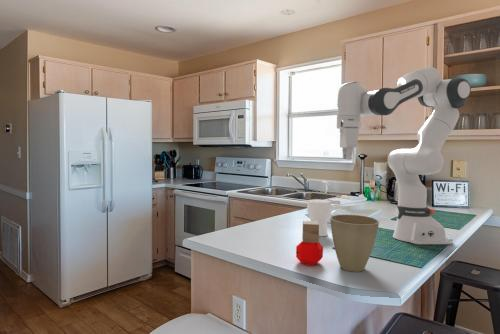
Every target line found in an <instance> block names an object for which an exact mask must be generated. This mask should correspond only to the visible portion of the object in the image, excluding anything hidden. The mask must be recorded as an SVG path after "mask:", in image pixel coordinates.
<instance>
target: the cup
mask: <svg viewBox="0 0 500 334" xmlns="http://www.w3.org/2000/svg"><path fill="white" fill-rule="evenodd" d="M306 206H307V207H306V208H307V209H306V210H307V215H308V217H309V219H310V220H309V221H318V223H319V237H327V236H329V235H328V234H329V233H328V221H329V220H330V217H331V216H332V213H333V212H332V211H333V210H332V209H333V206H332V202H331V200H327V199H318V198H317V199H316V198H314V199H310V200H308V201H307V205H306Z"/></svg>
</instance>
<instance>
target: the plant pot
mask: <svg viewBox="0 0 500 334" xmlns="http://www.w3.org/2000/svg"><path fill="white" fill-rule="evenodd" d="M329 221H330V228H331V229H330V230H331V235H332V236H331V237H332V241H333V245H334V246H333V247H334V251H335V254H336V258H337V260H338V264H339V266H340V268H341V269H342V270H344V271H348V272H352V273H353V272H357V273H359V272H363V271H364V270H365V268H366V265H367V264H368V261H369V260H370V258H371V257H370V256H371V254H372V251H373V249H374V245H375V242H376V239H377V233H378V229H379V225H380V220H378V219H376V218H374V217H371V216H366V215H360V214H335V215H330V218H329Z"/></svg>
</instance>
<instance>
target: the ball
mask: <svg viewBox="0 0 500 334" xmlns="http://www.w3.org/2000/svg"><path fill="white" fill-rule="evenodd" d="M295 251H296V252H295V254H296V255H295V257H296V258H297V260H298V261H299V262H300V264H301V265H307V266H315V265H316V264H318V262H320V261H321V260H322V259H323V258H324V246H323V245H322V244H321V243H320V242H319V243H309V242H303V240H302V241H301V242H300V243H298V244H297V245H296V247H295Z"/></svg>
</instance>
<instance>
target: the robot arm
mask: <svg viewBox="0 0 500 334" xmlns="http://www.w3.org/2000/svg"><path fill="white" fill-rule="evenodd" d="M471 88H472V87H471V85H470V83H469V81H468V79H465V78H462V77H454V78H448V79H442V73H441V72H440V70H439V69H438V68H435V67H433V66H428V67H422V68H418V69H415V70H413V71H410V72H408V73H406V74H404V75H402V76H401V77H399V79H398V81H397V83H396V87H394V88H391V87H382V88H379V89H377V90H372V91H369V90H367V89H365V87H363V86H362V84H361V83H360V82H358V81H350V82H345V83H343V84H341V85H340V87H339V89H338V94H337V104H336V105H337V109H338V110H337V114H336V116H337V117H336V129H339V133H340V134H339V147H340V148H342V159H343V160H348V161H349V160H350V161H351V160H353V153H354V152H353V151H354V148H357V146H358V140H359V134H360V133H359V131H360V130H359V129H360V128H361V126H362V125H361V123H362V122H361V117H363V118H367V117H368V118H369V117H376V116H377V117H378V116H388V115H389V116H390V115H391V114H393V113H394V111H395V110H396V109H397V108H398V107H399V106H400V105H402V104H403V103H404V102H408V101H410V100H415V99H417V100H418V103H419V104H420V105H421V106H422V107H426V108H432V107H433V111H432V113H431V114H430V115H429V117H428V118H427V119H426V120H425V122H424V124H423V125H422V126H421V127H420V129H419V130H418V132H417V133H416V138H417V141H418V144H417V146H415V147H411V148H410V147H406V148H405V147H403V148H402V147H401V148H398V149H393V150H392V151H391V152H390V153H389V154H388V156H387V165H388V167H389V169H391V171H392V172H393V174H394V176H395V179H396V182H397V189H398V191H397V194H398V196H397V198H398V199H397V200H398V201H397V205H396V212H395V213H396V214H395V216H396V222H395V226H394V231H393V235H392V237H393V239H396V240H398V241H402V242H407V243H411V244H414V245H452V240H451V238H450V237H447V236H446V234H447V233H446V230H445V227H444V226H443V225H442V224H441V223H440V222H438V221H437V220H436V219H435V218H433V216H431V215H434V214H435V209H433V208H429V207H428V206H427V197H428V189H427V187H426V186H425V185H424V184H423V183H422V181H421V179H420V176H419V175H421V176H429V175H436V174H438V173H439V172H441V171H442V170H443V167H444V163H445V159H444V156H443V154H442V152H441V151H442V147H443V146H444V144H445V142H446V140H447V139H448V138H449V137H450V134H451V133H452V131H454V129H455V127H456V125H457V123H458V121H459V119H460V112H459V109H460V108H462V107H463V106H464V105H465V102H467V100H468V99H469V97H470V95H471V92H472V91H471V90H472V89H471Z"/></svg>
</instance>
